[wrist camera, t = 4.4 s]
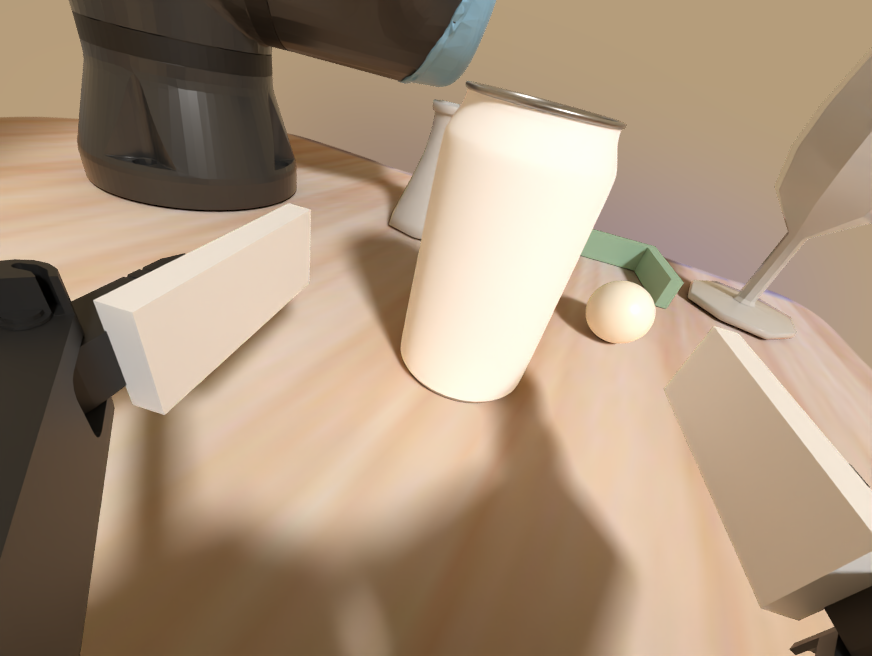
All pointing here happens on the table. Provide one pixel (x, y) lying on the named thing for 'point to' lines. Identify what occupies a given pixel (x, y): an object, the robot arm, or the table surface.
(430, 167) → the flask
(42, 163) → the table surface
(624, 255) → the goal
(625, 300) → the ball
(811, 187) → the wineglass
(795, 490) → the robot arm
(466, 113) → the can
